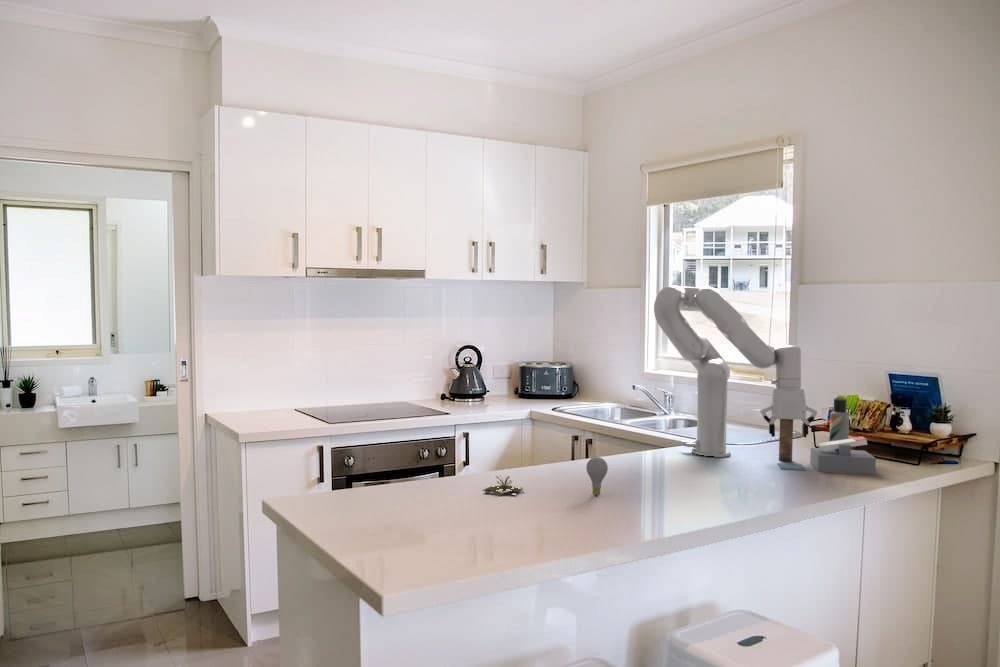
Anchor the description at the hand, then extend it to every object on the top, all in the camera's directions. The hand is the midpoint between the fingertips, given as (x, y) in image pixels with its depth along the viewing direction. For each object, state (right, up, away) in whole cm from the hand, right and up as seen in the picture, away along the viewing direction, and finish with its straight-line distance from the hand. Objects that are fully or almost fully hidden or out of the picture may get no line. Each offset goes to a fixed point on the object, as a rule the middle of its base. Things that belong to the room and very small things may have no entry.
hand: (788, 436), depth 242 cm
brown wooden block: (-1, -8, +1) cm, 8 cm away
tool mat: (-3, -8, -10) cm, 13 cm away
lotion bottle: (+19, -8, +6) cm, 21 cm away
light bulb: (-68, -9, -49) cm, 84 cm away
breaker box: (+12, -9, -11) cm, 19 cm away
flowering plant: (-92, -9, -46) cm, 103 cm away
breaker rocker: (+12, -1, -12) cm, 17 cm away
